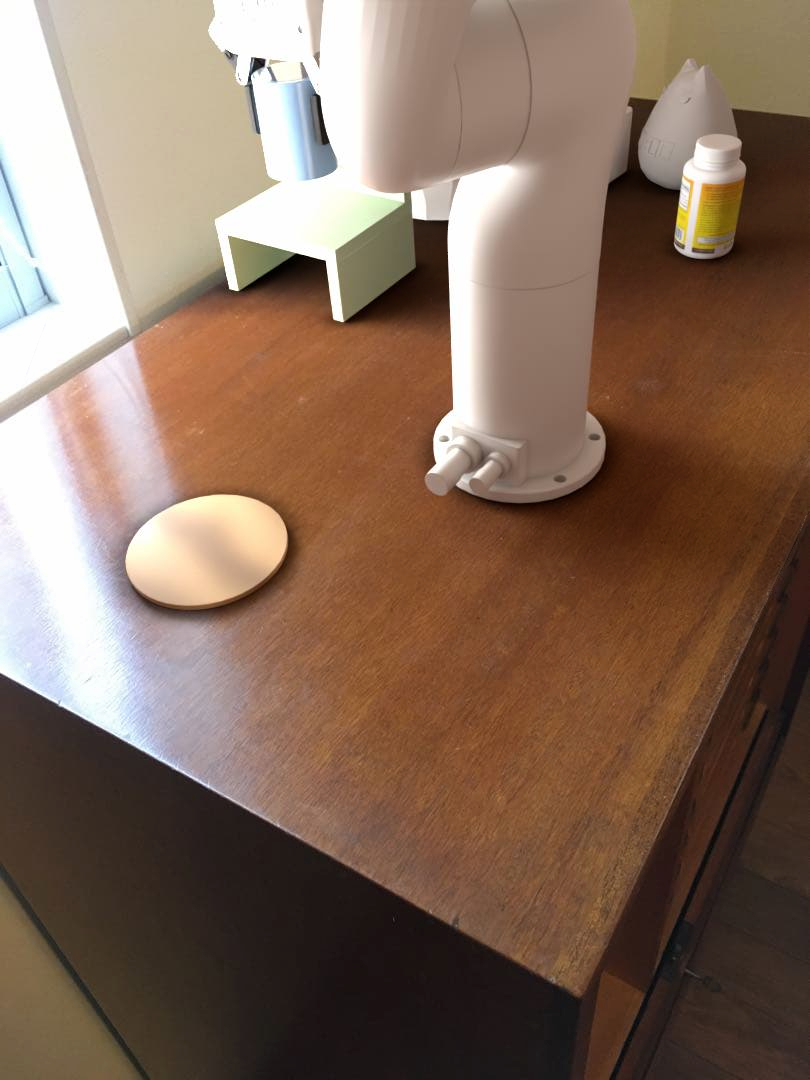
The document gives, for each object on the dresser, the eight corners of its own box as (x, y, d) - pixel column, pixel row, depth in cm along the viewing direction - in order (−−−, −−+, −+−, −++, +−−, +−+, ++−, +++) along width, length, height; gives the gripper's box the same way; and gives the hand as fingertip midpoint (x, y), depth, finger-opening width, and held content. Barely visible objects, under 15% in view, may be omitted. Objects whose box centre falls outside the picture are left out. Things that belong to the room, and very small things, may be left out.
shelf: (343, 322, 85) (332, 228, 79) (229, 288, 91) (210, 198, 85) (416, 267, 92) (410, 176, 86) (305, 239, 98) (292, 153, 92)
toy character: (616, 172, 106) (627, 57, 98) (696, 154, 108) (713, 41, 100) (666, 205, 99) (682, 85, 91) (750, 185, 101) (773, 66, 93)
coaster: (213, 634, 58) (211, 630, 58) (92, 571, 63) (90, 567, 63) (320, 530, 64) (320, 526, 64) (204, 481, 69) (202, 476, 69)
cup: (309, 186, 80) (295, 86, 74) (252, 175, 83) (235, 78, 77) (353, 161, 83) (342, 64, 78) (298, 151, 86) (284, 57, 81)
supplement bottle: (743, 247, 91) (764, 140, 84) (707, 267, 88) (726, 158, 81) (696, 230, 94) (713, 125, 87) (660, 249, 92) (674, 142, 85)
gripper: (144, -108, 71) (196, 135, 83) (323, -105, 63) (352, 163, 75) (211, -124, 75) (251, 109, 87) (386, -124, 67) (405, 133, 79)
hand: (298, 132), depth 81 cm, fingers closed on cup, 6 cm apart
